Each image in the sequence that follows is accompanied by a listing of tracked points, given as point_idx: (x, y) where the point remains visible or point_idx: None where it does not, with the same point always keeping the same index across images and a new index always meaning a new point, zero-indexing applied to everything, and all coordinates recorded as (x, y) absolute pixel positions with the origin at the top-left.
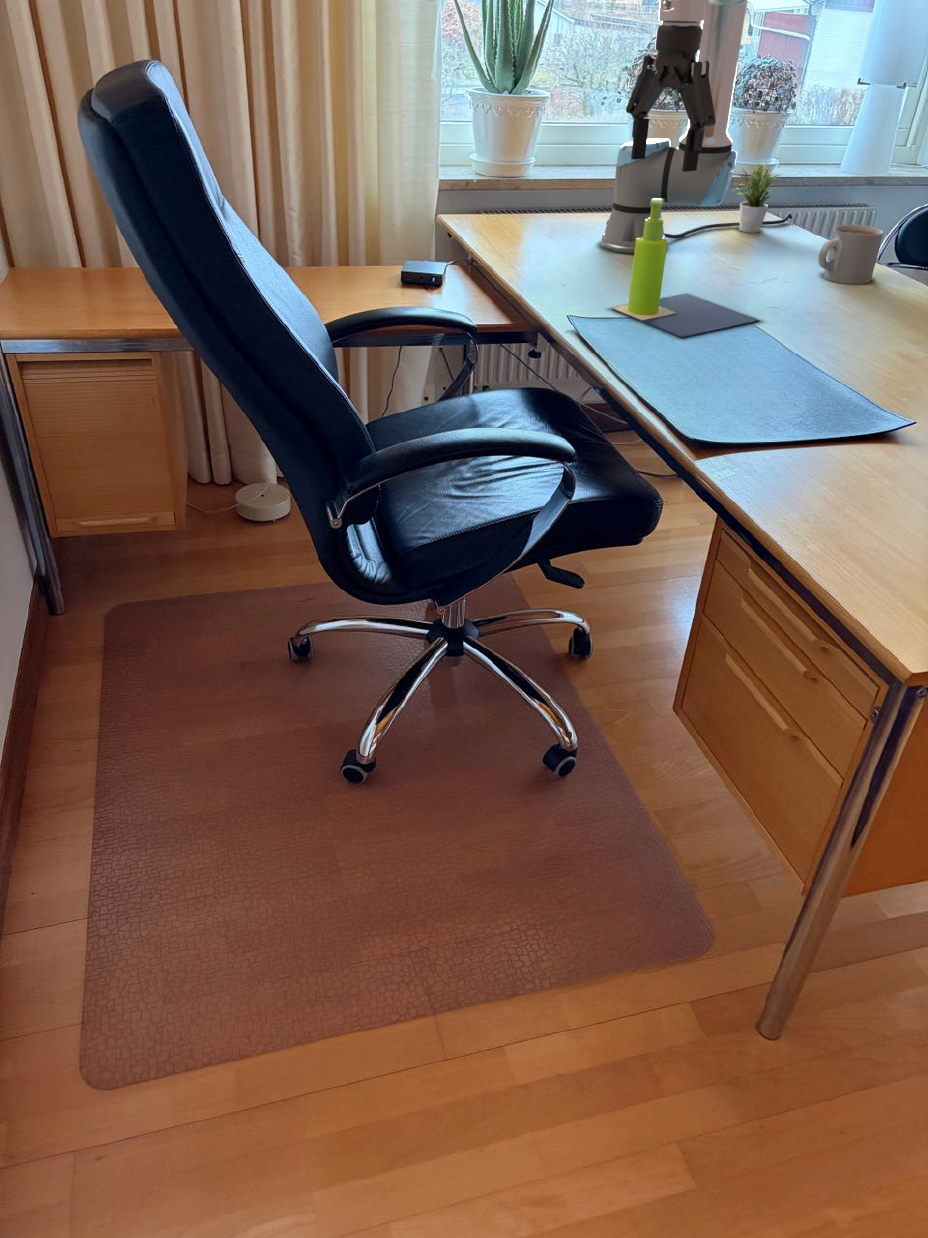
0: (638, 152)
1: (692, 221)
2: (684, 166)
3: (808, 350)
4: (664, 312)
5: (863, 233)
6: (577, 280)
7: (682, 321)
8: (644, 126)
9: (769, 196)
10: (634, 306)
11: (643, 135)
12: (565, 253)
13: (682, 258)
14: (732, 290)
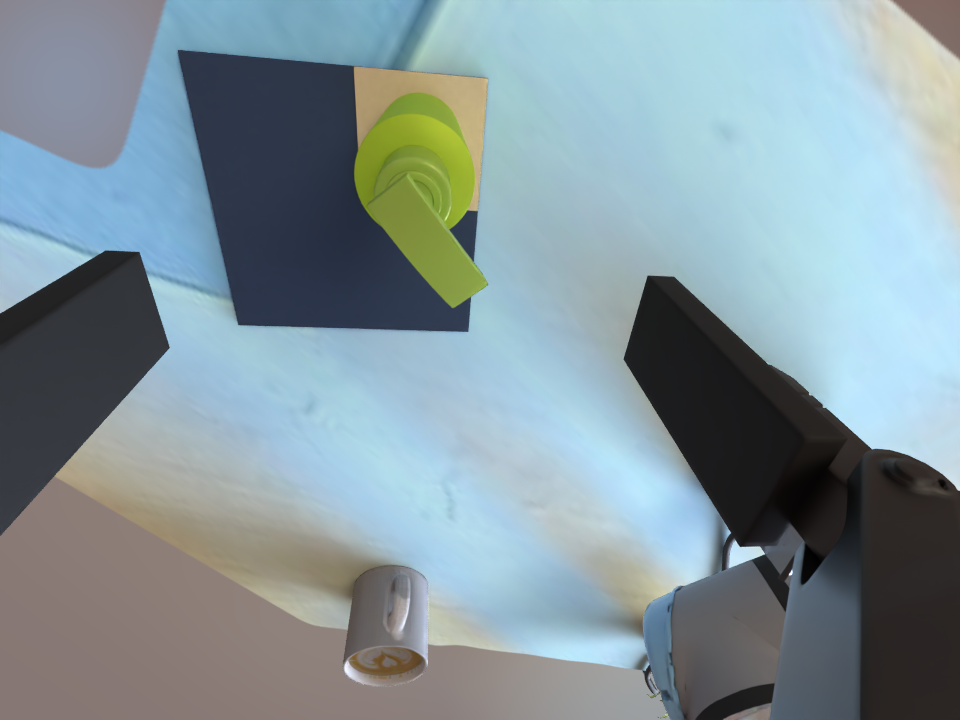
0: (651, 324)
1: None
2: (99, 262)
3: (10, 263)
4: None
5: (389, 666)
6: (721, 198)
7: (298, 163)
8: (724, 461)
9: (656, 694)
10: (412, 94)
11: (691, 415)
12: (864, 330)
13: (644, 480)
14: (440, 421)
